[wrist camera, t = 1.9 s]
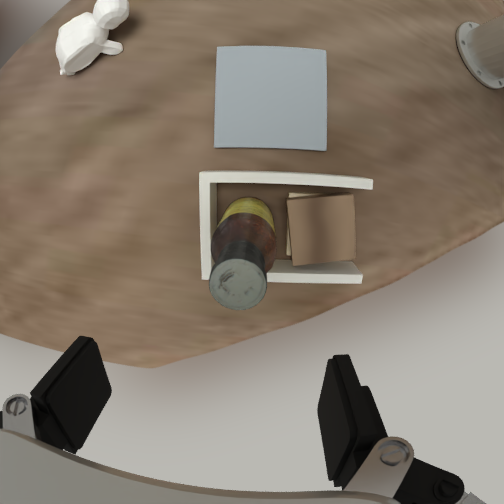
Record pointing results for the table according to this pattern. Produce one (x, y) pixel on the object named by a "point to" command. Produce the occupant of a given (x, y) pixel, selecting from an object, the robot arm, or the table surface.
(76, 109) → the table surface
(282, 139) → the mat
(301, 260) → the walnut offcut
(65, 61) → the white animal figurine
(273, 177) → the rack
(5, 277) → the table surface
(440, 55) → the table surface
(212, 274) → the sauce bottle
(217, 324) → the table surface
